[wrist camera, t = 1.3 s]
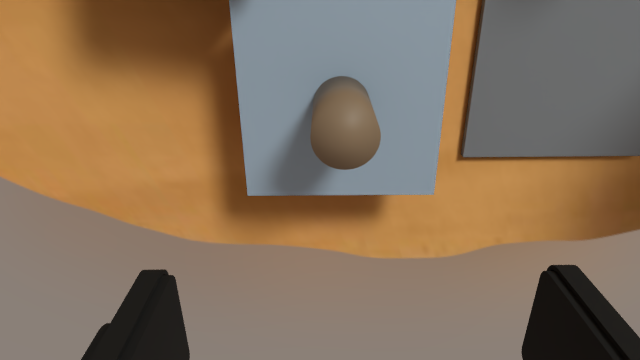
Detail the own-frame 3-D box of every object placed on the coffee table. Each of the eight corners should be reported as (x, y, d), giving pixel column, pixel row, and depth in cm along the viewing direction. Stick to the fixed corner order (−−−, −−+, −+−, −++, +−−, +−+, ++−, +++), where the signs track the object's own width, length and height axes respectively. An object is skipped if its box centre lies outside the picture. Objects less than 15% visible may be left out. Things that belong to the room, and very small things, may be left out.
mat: (697, -41, 29) (704, -41, 29) (634, 152, 36) (639, 155, 35) (487, -38, 30) (490, -38, 29) (461, 154, 36) (463, 157, 35)
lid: (452, -10, 26) (493, -1, 20) (430, 187, 32) (457, 243, 25) (231, -7, 26) (202, 2, 20) (249, 189, 32) (231, 244, 25)
